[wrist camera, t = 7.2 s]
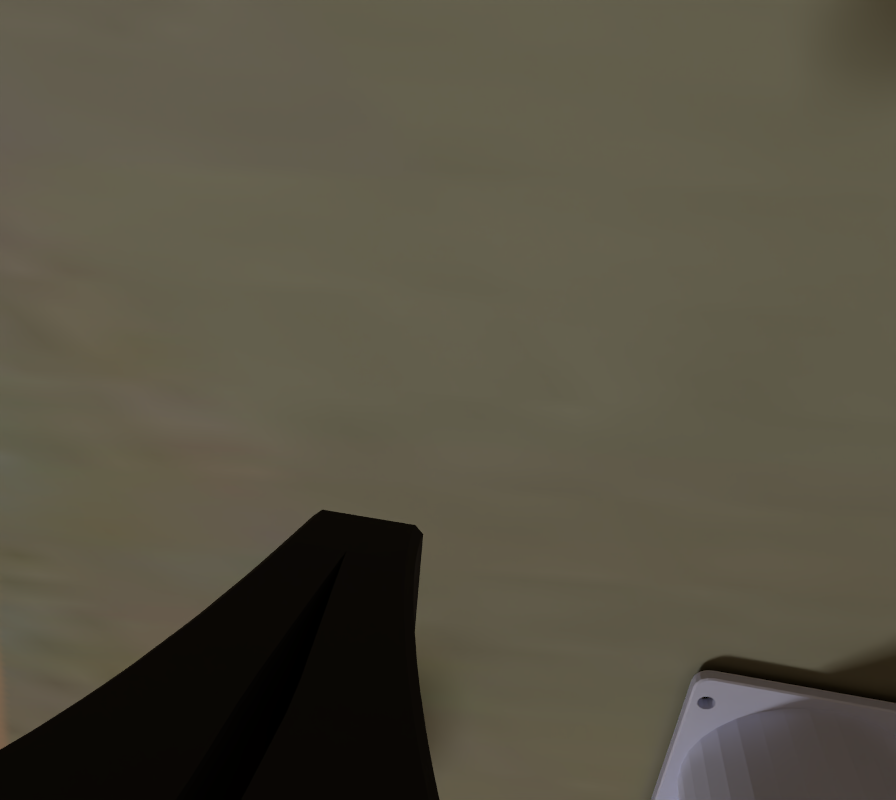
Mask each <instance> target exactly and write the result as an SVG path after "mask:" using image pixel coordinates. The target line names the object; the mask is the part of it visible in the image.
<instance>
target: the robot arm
mask: <svg viewBox="0 0 896 800" xmlns="http://www.w3.org/2000/svg"><path fill="white" fill-rule="evenodd" d="M422 541H423V534H422V532H421V531H420V530H419V529H418V528H417V527H416V525H411V524H405V523H399V522H393V521H387V520H381V519H375V518H369V517H363V516H357V515H351V514H345V513H339V512H333V511H327V510H321V511H320V512H318V513H317V514H315V515H314V516H313V517H312V518H310V519H309V520H308V521H307V522H306V523H305V524H304V525H303V526H301V527H300V528H299V529H298V530H297V531H296V532H295V533H294V534H293V535H292V536H290V537H289V538H288V539H287V540H286V541H285V542H284V543H283V544H282V545H280V546H279V547H278V548H277V549H276V550H275V551H274V552H273V553H271V554H270V555H269V556H268V557H267V558H266V559H265V560H263V561H262V562H261V563H260V564H259V565H258V566H257V567H255V568H254V569H253V570H252V571H251V572H250V573H248V574H247V575H246V576H245V577H244V578H242V579H241V580H240V581H239V582H238V583H236V584H235V585H234V586H233V587H232V588H230V589H229V590H228V591H227V592H226V593H224V594H223V595H222V596H221V597H219V598H218V599H217V600H216V601H215V602H213V603H212V604H211V605H210V606H209V607H207V608H206V609H205V610H204V611H202V612H201V613H200V614H199V615H197V616H196V617H195V618H194V619H192V620H191V621H190V622H188V623H187V624H186V625H184V626H183V627H182V628H180V629H179V630H178V631H176V632H175V633H174V634H172V635H171V636H170V637H168V638H167V639H166V640H164V641H163V642H162V643H160V644H159V645H158V646H156V647H155V648H154V649H152V650H151V651H150V652H148V653H147V654H146V655H144V656H143V657H142V658H140V659H139V660H138V661H136V662H135V663H134V664H132V665H131V666H129V667H128V668H127V669H125V670H124V671H122V672H121V673H119V674H118V675H117V676H115V677H114V678H112V679H111V680H109V681H108V682H106V683H105V684H104V685H102V686H101V687H99V688H98V689H96V690H95V691H93V692H92V693H90V694H89V695H87V696H86V697H84V698H83V699H81V700H80V701H78V702H77V703H75V704H74V705H72V706H70V707H69V708H67V709H66V710H64V711H63V712H61V713H59V714H58V715H56V716H55V717H53V718H52V719H50V720H49V721H47V722H45V723H44V724H42V725H41V726H39V727H37V728H36V729H34V730H33V731H31V732H29V733H28V734H26V735H24V736H23V737H21V738H19V739H18V740H16V741H14V742H12V743H11V744H9V745H7V746H6V747H4V748H2V749H1V750H0V800H439V796H438V791H437V786H436V782H435V777H434V772H433V767H432V761H431V756H430V751H429V745H428V739H427V733H426V727H425V721H424V714H423V707H422V700H421V693H420V686H419V677H418V668H417V657H416V643H415V621H416V610H417V598H418V587H419V575H420V564H421V552H422ZM702 697H709V698H707V699H702ZM651 800H896V703H892V702H887V701H881V700H876V699H870V698H864V697H859V696H853V695H848V694H842V693H836V692H831V691H825V690H820V689H814V688H808V687H803V686H797V685H792V684H786V683H780V682H775V681H769V680H764V679H758V678H752V677H747V676H741V675H736V674H730V673H724V672H719V671H713V670H704V671H700V672H698V673H697V674H695V675H694V677H693V678H692V680H691V683H690V686H689V689H688V692H687V695H686V698H685V701H684V704H683V707H682V710H681V713H680V715H679V718H678V721H677V724H676V727H675V730H674V733H673V736H672V739H671V742H670V745H669V748H668V751H667V754H666V757H665V760H664V763H663V766H662V768H661V771H660V774H659V777H658V780H657V783H656V786H655V789H654V792H653V795H652V798H651Z"/></svg>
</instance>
